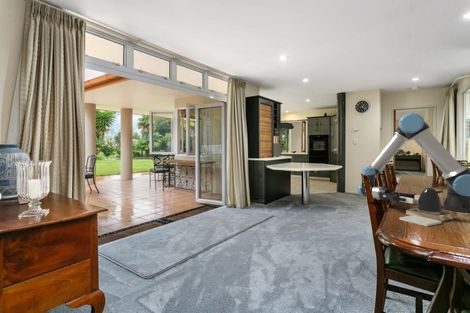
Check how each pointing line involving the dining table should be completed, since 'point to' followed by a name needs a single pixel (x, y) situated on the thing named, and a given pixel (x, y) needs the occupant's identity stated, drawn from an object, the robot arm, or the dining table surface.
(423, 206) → the black tall egg-shaped piece
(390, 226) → the dining table surface
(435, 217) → the square picture frame
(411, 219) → the ceramic tile
